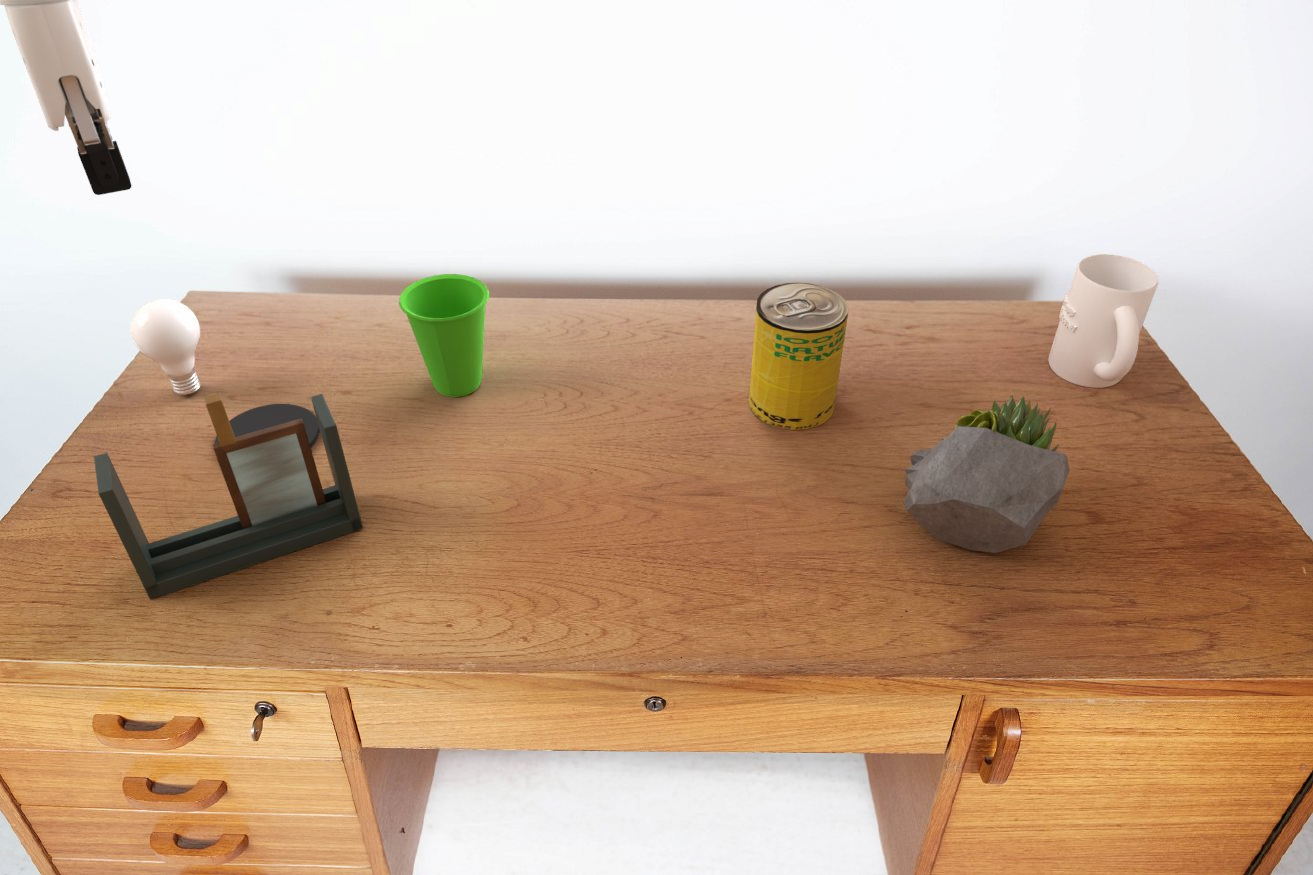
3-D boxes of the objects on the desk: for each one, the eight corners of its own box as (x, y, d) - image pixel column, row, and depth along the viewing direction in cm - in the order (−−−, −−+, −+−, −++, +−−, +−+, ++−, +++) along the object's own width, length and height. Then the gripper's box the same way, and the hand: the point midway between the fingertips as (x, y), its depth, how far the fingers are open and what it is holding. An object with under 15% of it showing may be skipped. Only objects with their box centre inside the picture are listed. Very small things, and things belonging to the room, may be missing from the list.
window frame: (150, 599, 81) (98, 493, 73) (143, 561, 84) (93, 456, 77) (363, 528, 87) (336, 424, 80) (349, 495, 91) (322, 393, 83)
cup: (507, 362, 108) (497, 275, 101) (488, 411, 101) (476, 321, 94) (429, 357, 109) (414, 271, 102) (405, 406, 102) (386, 316, 95)
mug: (1069, 410, 102) (1102, 312, 94) (1036, 347, 111) (1064, 253, 103) (1148, 411, 101) (1187, 313, 94) (1108, 347, 111) (1142, 254, 103)
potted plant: (867, 505, 85) (916, 382, 93) (964, 586, 89) (1004, 461, 96) (973, 473, 75) (1018, 338, 83) (1078, 566, 79) (1112, 428, 86)
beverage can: (851, 413, 101) (867, 314, 93) (781, 439, 98) (791, 340, 90) (800, 370, 107) (811, 274, 100) (732, 393, 104) (738, 296, 96)
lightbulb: (175, 373, 106) (142, 285, 99) (230, 377, 106) (201, 289, 99) (145, 407, 101) (108, 318, 94) (203, 412, 101) (170, 322, 94)
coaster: (225, 482, 92) (223, 477, 92) (208, 425, 99) (207, 420, 99) (330, 450, 96) (329, 446, 96) (307, 398, 103) (306, 393, 102)
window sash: (246, 538, 84) (197, 406, 75) (243, 529, 85) (195, 398, 76) (329, 511, 87) (291, 381, 78) (326, 503, 88) (288, 373, 79)
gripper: (-21, -42, 81) (63, 167, 92) (-23, 3, 71) (72, 231, 82) (78, -52, 84) (148, 152, 95) (90, -10, 73) (166, 212, 85)
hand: (112, 188), depth 89 cm, fingers closed
